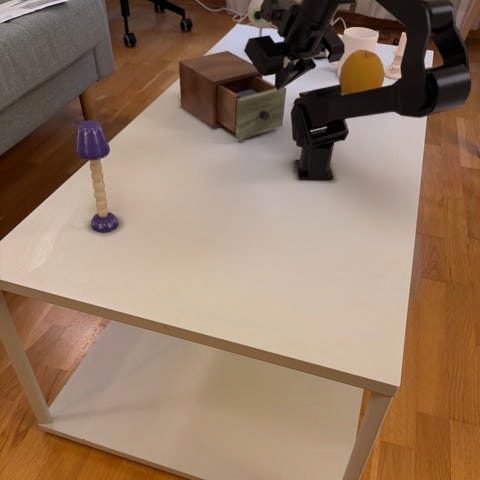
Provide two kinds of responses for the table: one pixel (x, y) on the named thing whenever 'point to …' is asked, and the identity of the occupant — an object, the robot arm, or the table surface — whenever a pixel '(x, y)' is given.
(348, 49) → the cup
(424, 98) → the robot arm
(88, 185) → the table surface
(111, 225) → the toy lamp
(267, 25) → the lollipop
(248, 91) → the block
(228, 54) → the cabinet
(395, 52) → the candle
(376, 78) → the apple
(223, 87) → the drawer
